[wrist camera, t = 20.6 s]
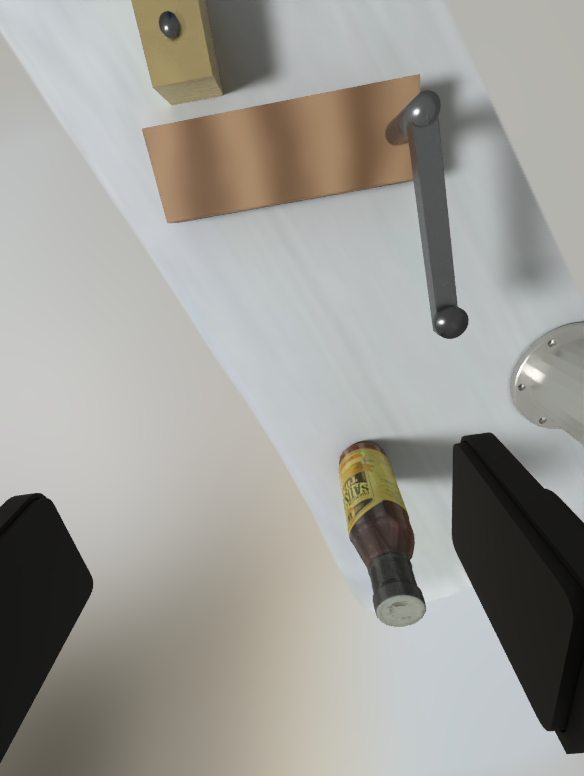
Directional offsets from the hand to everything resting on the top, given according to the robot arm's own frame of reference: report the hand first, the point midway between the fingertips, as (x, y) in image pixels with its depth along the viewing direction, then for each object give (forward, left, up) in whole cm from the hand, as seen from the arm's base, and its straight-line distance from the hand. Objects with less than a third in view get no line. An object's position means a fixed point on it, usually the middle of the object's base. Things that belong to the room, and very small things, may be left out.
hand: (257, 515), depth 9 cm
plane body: (-2, -11, -33) cm, 35 cm away
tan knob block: (+5, -20, -33) cm, 39 cm away
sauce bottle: (-6, +23, -34) cm, 41 cm away
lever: (-12, -4, -29) cm, 32 cm away
